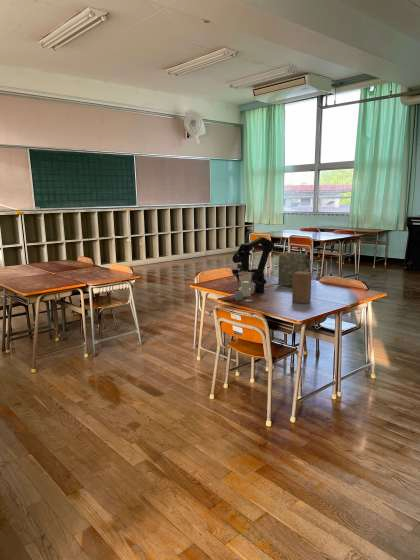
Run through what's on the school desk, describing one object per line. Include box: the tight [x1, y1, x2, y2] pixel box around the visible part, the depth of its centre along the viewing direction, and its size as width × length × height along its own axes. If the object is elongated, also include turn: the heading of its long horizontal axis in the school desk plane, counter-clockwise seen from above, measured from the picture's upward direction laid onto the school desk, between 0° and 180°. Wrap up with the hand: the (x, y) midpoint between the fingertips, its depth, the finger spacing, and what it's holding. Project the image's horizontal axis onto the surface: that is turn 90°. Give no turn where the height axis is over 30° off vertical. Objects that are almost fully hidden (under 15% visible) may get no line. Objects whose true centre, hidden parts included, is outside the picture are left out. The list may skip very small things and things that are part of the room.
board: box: [242, 298, 257, 303], centre depth 282 cm, size 8×6×1 cm
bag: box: [277, 251, 311, 288], centre depth 327 cm, size 22×16×27 cm
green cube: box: [240, 280, 250, 290], centre depth 299 cm, size 5×5×5 cm
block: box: [291, 271, 312, 305], centre depth 277 cm, size 10×10×20 cm
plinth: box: [238, 287, 252, 297], centre depth 300 cm, size 8×8×5 cm
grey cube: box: [233, 290, 244, 301], centre depth 288 cm, size 5×5×5 cm
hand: (244, 283), depth 298 cm, fingers open, 9 cm apart
